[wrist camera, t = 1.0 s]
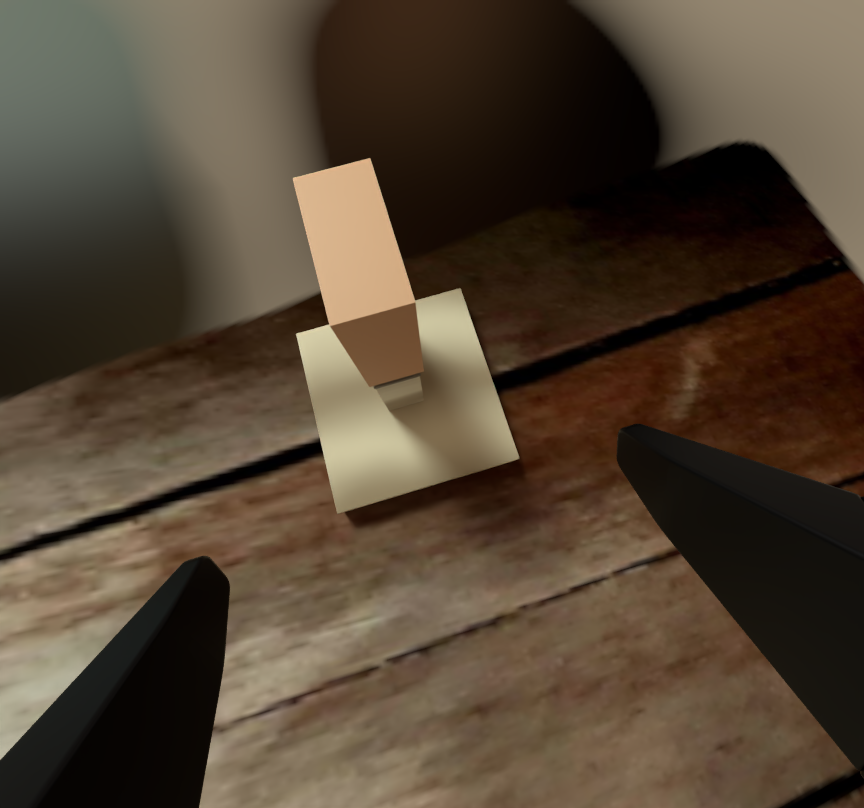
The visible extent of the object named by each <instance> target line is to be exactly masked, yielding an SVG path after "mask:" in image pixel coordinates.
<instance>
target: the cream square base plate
mask: <svg viewBox="0 0 864 808" xmlns="http://www.w3.org/2000/svg"><path fill="white" fill-rule="evenodd" d="M415 302H416V311H417V319H418V327H419V335H420V343H421V352H422V360H423V368H424V372H420V373H417V374H414V375H410V376H407V377H403V378H400V379H396V380H393V381H389V382H386V383H382V384H379V385H375V386H372V387H369V386H368V384H367V383H366V381H365V379H364V378H363V376H362V375H361V373H360V372H359V370H358V369H357V367H356V366H355V364H354V363H353V361H352V359H351V358H350V356H349V355H348V353H347V352H346V350H345V349H344V347H343V346H342V344H341V343H340V341H339V339H338V338H337V336H336V335H335V333H334V332H333V330H332V329H331V327H330V325H326V326H323V327H319V328H315V329H312V330H308V331H305V332H301V333H297V334H296V335H297V339H298V344H299V348H300V353H301V357H302V361H303V366H304V370H305V375H306V379H307V383H308V388H309V392H310V396H311V401H312V405H313V410H314V414H315V418H316V423H317V427H318V432H319V436H320V440H321V445H322V449H323V453H324V458H325V462H326V467H327V471H328V475H329V480H330V484H331V489H332V493H333V497H334V502H335V506H336V510H337V514H338V513H344V512H347V511H350V510H354V509H357V508H360V507H364V506H367V505H370V504H373V503H377V502H380V501H383V500H387V499H390V498H393V497H397V496H400V495H403V494H406V493H410V492H413V491H416V490H420V489H423V488H426V487H430V486H433V485H436V484H439V483H443V482H446V481H449V480H453V479H456V478H459V477H463V476H466V475H469V474H472V473H476V472H479V471H482V470H486V469H489V468H492V467H495V466H499V465H502V464H505V463H509V462H512V461H515V460H517V459H519V455H518V452H517V450H516V447H515V444H514V441H513V438H512V435H511V432H510V429H509V427H508V424H507V421H506V418H505V415H504V412H503V409H502V406H501V404H500V401H499V398H498V395H497V392H496V389H495V386H494V384H493V381H492V378H491V375H490V372H489V369H488V366H487V363H486V361H485V358H484V355H483V352H482V349H481V346H480V343H479V340H478V338H477V335H476V332H475V329H474V326H473V323H472V320H471V318H470V315H469V312H468V309H467V306H466V303H465V300H464V297H463V295H462V292H461V289H460V288H459V289H456V290H452V291H449V292H445V293H441V294H438V295H434V296H431V297H427V298H423V299H420V300H416V301H415Z"/></svg>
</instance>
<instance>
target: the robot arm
mask: <svg viewBox="0 0 864 808" xmlns="http://www.w3.org/2000/svg"><path fill="white" fill-rule="evenodd" d="M617 462H618V464H619V467H620V468H621V470H622V471H623V473H624V474H625V476H626V478H627V479H628V481H629V482H630V484H631V485H632V487H633V488H634V490H635V491H636V493H637V494H638V496H639V497H640V499H641V500H642V502H643V503H644V505H645V506H646V508H647V510H648V511H649V513H650V514H651V516H652V517H653V519H654V520H655V521H656V523H657V524H658V526H659V527H660V528H661V530H662V531H663V532H664V533H665V535H666V536H667V537H668V539H669V540H670V541H671V542H672V543H673V545H674V546H675V547H676V548H677V550H678V551H679V552H680V553H681V554H682V556H683V557H684V558H685V559H686V561H687V562H688V563H689V564H690V565H691V567H692V568H693V569H694V570H695V572H696V573H697V574H698V575H699V577H700V578H701V579H702V580H703V581H704V583H705V584H706V585H707V586H708V588H709V589H710V590H711V591H712V592H713V594H714V595H715V596H716V597H717V599H718V600H719V601H720V602H721V603H722V605H723V606H724V607H725V608H726V610H727V611H728V612H729V613H730V615H731V616H732V617H733V618H734V619H735V621H736V622H737V623H738V624H739V626H740V627H741V628H742V629H743V630H744V632H745V633H746V634H747V635H748V637H749V638H750V639H751V640H752V641H753V643H754V644H755V645H756V646H757V648H758V649H759V650H760V651H761V653H762V654H763V655H764V656H765V657H766V659H767V660H768V661H769V662H770V664H771V665H772V666H773V667H774V668H775V670H776V671H777V672H778V673H779V675H780V676H781V677H782V678H783V679H784V681H785V682H786V683H787V684H788V686H789V687H790V688H791V689H792V690H793V692H794V693H795V694H796V695H797V697H798V698H799V699H800V700H801V702H802V703H803V704H804V705H805V706H806V708H807V709H808V710H809V711H810V713H811V714H812V715H813V716H814V717H815V719H816V720H817V721H818V722H819V724H820V725H821V726H822V727H823V728H824V730H825V731H826V732H827V733H828V735H829V736H830V737H831V738H832V740H833V741H834V742H835V743H836V744H837V746H838V747H839V748H840V749H841V751H842V752H843V753H844V754H845V755H846V757H847V758H848V759H849V760H850V762H851V763H852V764H853V765H854V766H855V768H856V769H857V770H859V771H860V774H861V776H862V777H863V778H864V497H859V495H857V494H855V493H852V492H849V491H846V490H843V489H839V488H836V487H833V486H830V485H827V484H824V483H821V482H818V481H815V480H812V479H809V478H806V477H802V476H799V475H796V474H793V473H790V472H787V471H784V470H781V469H778V468H775V467H772V466H769V465H766V464H762V463H759V462H756V461H753V460H750V459H747V458H744V457H741V456H738V455H735V454H732V453H729V452H725V451H722V450H719V449H716V448H713V447H710V446H707V445H704V444H701V443H698V442H695V441H692V440H688V439H685V438H682V437H679V436H676V435H673V434H670V433H667V432H664V431H661V430H658V429H655V428H652V427H648V426H645V425H642V424H634V425H630V426H627V427H624V428H621V429H620V430H619V432H618V441H617ZM229 595H230V584H229V581H228V578H227V577H226V575H225V574H224V573H223V572H222V571H221V570H220V568H219V567H218V566H217V565H216V564H215V563H214V561H213V560H212V559H211V558H210V557H208V556H200V557H197V558H194V559H191V560H188V561H186V562H184V563H183V564H182V565H181V566H180V567H179V568H178V569H177V570H176V571H175V572H174V573H173V574H172V575H171V576H170V578H169V579H168V580H167V581H166V582H165V583H164V584H163V585H162V586H161V587H160V588H159V589H158V590H157V592H156V593H155V594H154V595H153V596H152V597H151V598H150V599H149V600H148V601H147V602H146V603H145V605H144V606H143V607H142V608H141V609H140V610H139V611H138V612H137V613H136V614H135V615H134V616H133V617H132V619H131V620H130V621H129V622H128V623H127V624H126V625H125V626H124V627H123V628H122V629H121V630H120V631H119V633H118V634H117V635H116V636H115V637H114V638H113V639H112V640H111V641H110V642H109V643H108V644H107V646H106V647H105V648H104V649H103V650H102V651H101V652H100V653H99V654H98V655H97V656H96V657H95V658H94V660H93V661H92V662H91V663H90V664H89V665H88V666H87V667H86V668H85V669H84V670H83V671H82V673H81V674H80V675H79V676H78V677H77V678H76V679H75V680H74V681H73V682H72V683H71V684H70V685H69V687H68V688H67V689H66V690H65V691H64V692H63V693H62V694H61V695H60V696H59V697H58V698H57V700H56V701H55V702H54V703H53V704H52V705H51V706H50V707H49V708H48V709H47V710H46V711H45V712H44V714H43V715H42V716H41V717H40V718H39V719H38V720H37V721H36V722H35V723H34V724H33V725H32V726H31V728H30V729H29V730H28V731H27V732H26V733H25V734H24V735H23V736H22V737H21V738H20V739H19V741H18V742H17V743H16V744H15V745H14V746H13V747H12V748H11V749H10V750H9V751H8V752H7V753H6V755H5V756H4V757H3V758H2V759H1V760H0V808H199V804H200V799H201V793H202V787H203V782H204V776H205V771H206V765H207V759H208V754H209V748H210V742H211V737H212V731H213V725H214V720H215V714H216V708H217V703H218V697H219V692H220V686H221V680H222V674H223V667H224V659H225V648H226V635H227V621H228V608H229Z"/></svg>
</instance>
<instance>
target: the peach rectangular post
mask: <svg viewBox="0 0 864 808" xmlns="http://www.w3.org/2000/svg"><path fill="white" fill-rule="evenodd" d="M293 182H294V186H295V190H296V194H297V197H298V202H299V206H300V210H301V213H302V217H303V221H304V225H305V229H306V233H307V237H308V241H309V245H310V249H311V253H312V257H313V261H314V265H315V269H316V273H317V277H318V281H319V285H320V289H321V293H322V297H323V301H324V305H325V309H326V313H327V317H328V321H329V325H330V327H331V329H332V330H333V332H334V333H335V335H336V336H337V338H338V339H339V341H340V343H341V344H342V346H343V347H344V349H345V350H346V352H347V353H348V355H349V356H350V358H351V359H352V361H353V363H354V364H355V366H356V367H357V369H358V370H359V372H360V373H361V375H362V376H363V378H364V379H365V381H366V383H367V384H368V386H369V387H372V386H375V385H379V384H382V383H386V382H389V381H393V380H396V379H400V378H403V377H407V376H410V375H414V374H417V373H420V372H424V368H423V360H422V352H421V343H420V335H419V327H418V319H417V311H416V302H415V299H414V296H413V293H412V290H411V286H410V283H409V280H408V277H407V274H406V271H405V267H404V264H403V261H402V258H401V255H400V252H399V248H398V246H397V242H396V239H395V236H394V233H393V229H392V226H391V223H390V220H389V217H388V213H387V211H386V207H385V204H384V201H383V197H382V194H381V191H380V188H379V185H378V182H377V178H376V175H375V172H374V169H373V166H372V163H371V160H370V158H369V159H366V160H361V161H358V162H354V163H350V164H346V165H342V166H338V167H334V168H330V169H326V170H322V171H318V172H315V173H311V174H307V175H303V176H299V177H295V178H293Z"/></svg>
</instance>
